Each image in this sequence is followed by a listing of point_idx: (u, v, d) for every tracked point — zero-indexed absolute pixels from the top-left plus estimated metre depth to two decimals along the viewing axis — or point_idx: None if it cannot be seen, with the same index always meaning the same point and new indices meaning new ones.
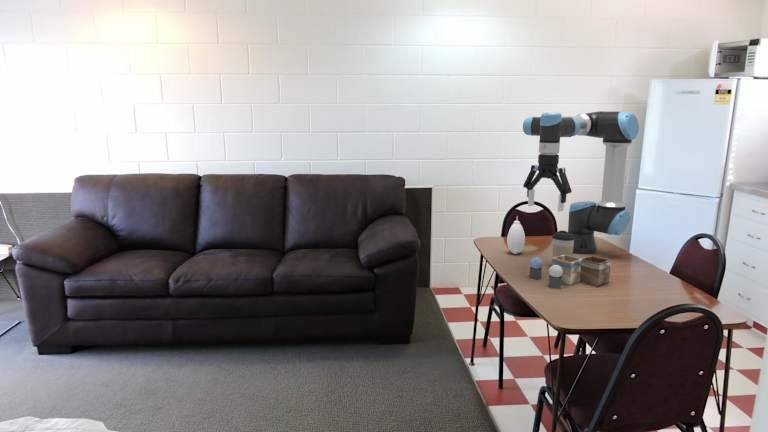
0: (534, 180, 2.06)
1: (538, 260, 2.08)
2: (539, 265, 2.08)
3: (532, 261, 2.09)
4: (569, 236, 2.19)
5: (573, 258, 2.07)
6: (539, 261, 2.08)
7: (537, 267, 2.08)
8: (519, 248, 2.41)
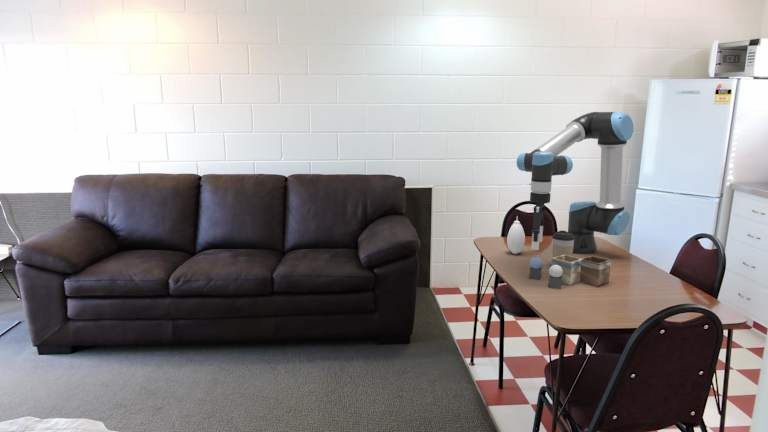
0: None
1: (538, 260, 2.08)
2: (539, 265, 2.08)
3: (532, 261, 2.09)
4: (569, 236, 2.19)
5: (573, 258, 2.07)
6: (539, 261, 2.08)
7: (537, 267, 2.08)
8: (519, 248, 2.41)
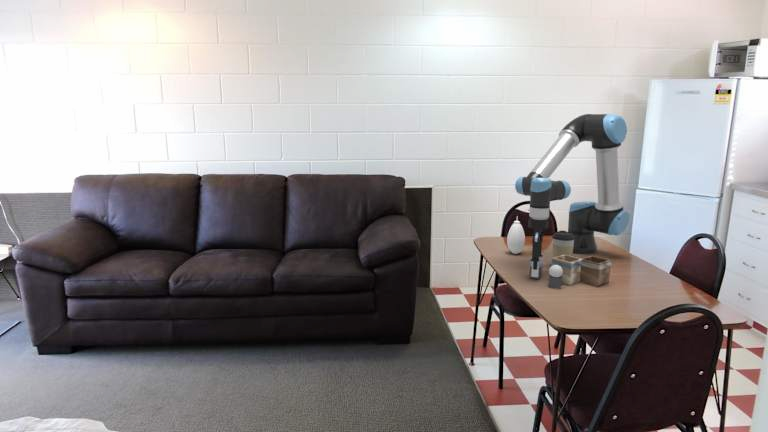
0: None
1: None
2: (539, 265, 2.08)
3: None
4: (569, 236, 2.19)
5: (573, 258, 2.07)
6: (539, 261, 2.08)
7: None
8: (519, 248, 2.41)
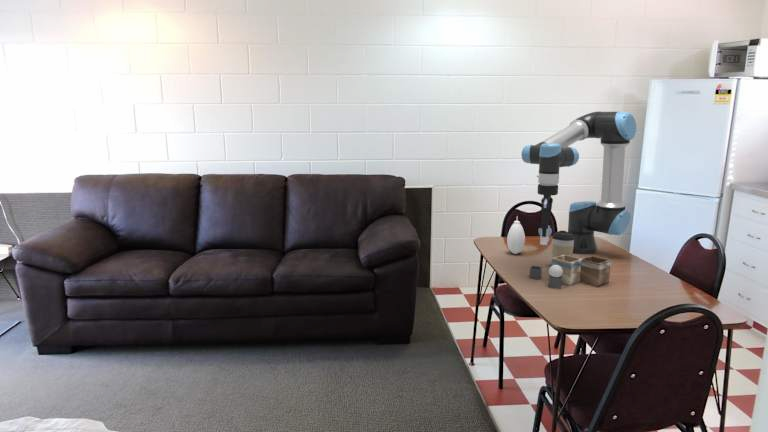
0: None
1: None
2: (548, 233, 2.04)
3: None
4: (569, 236, 2.19)
5: (573, 258, 2.07)
6: (548, 229, 2.04)
7: None
8: (519, 248, 2.41)
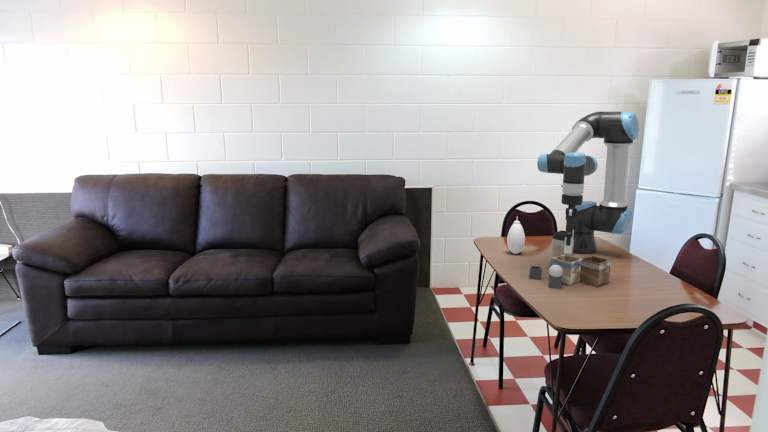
0: None
1: None
2: None
3: None
4: None
5: (573, 258, 2.07)
6: None
7: None
8: (519, 248, 2.41)
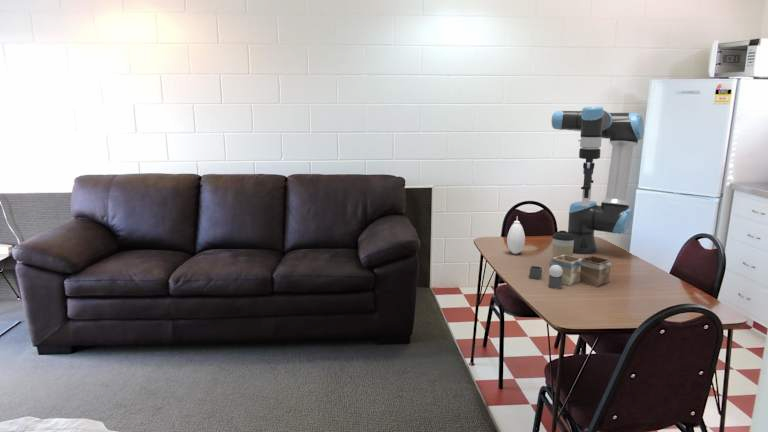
0: None
1: None
2: None
3: None
4: (569, 236, 2.19)
5: (573, 258, 2.07)
6: None
7: None
8: (519, 248, 2.41)
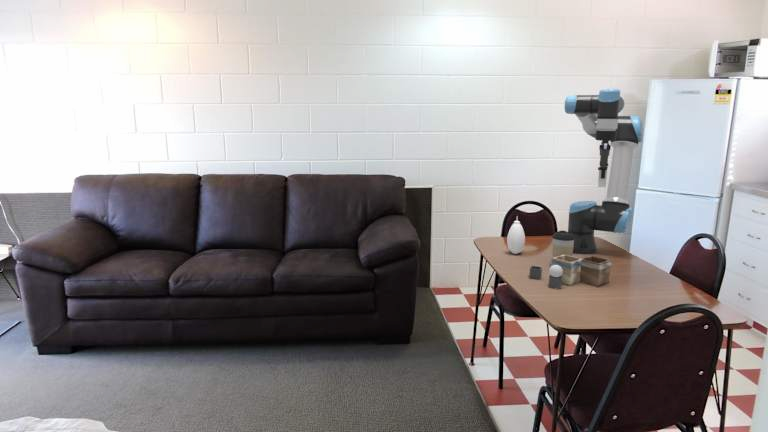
0: None
1: None
2: None
3: None
4: (569, 236, 2.19)
5: (573, 258, 2.07)
6: None
7: None
8: (519, 248, 2.41)
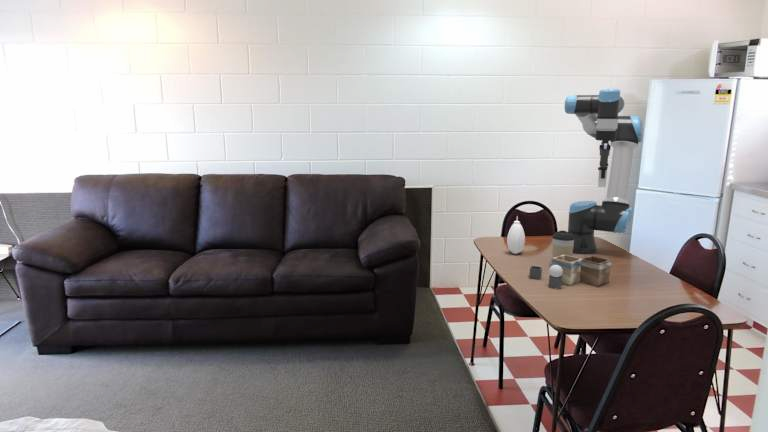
0: None
1: None
2: None
3: None
4: (569, 236, 2.19)
5: (573, 258, 2.07)
6: None
7: None
8: (519, 248, 2.41)
